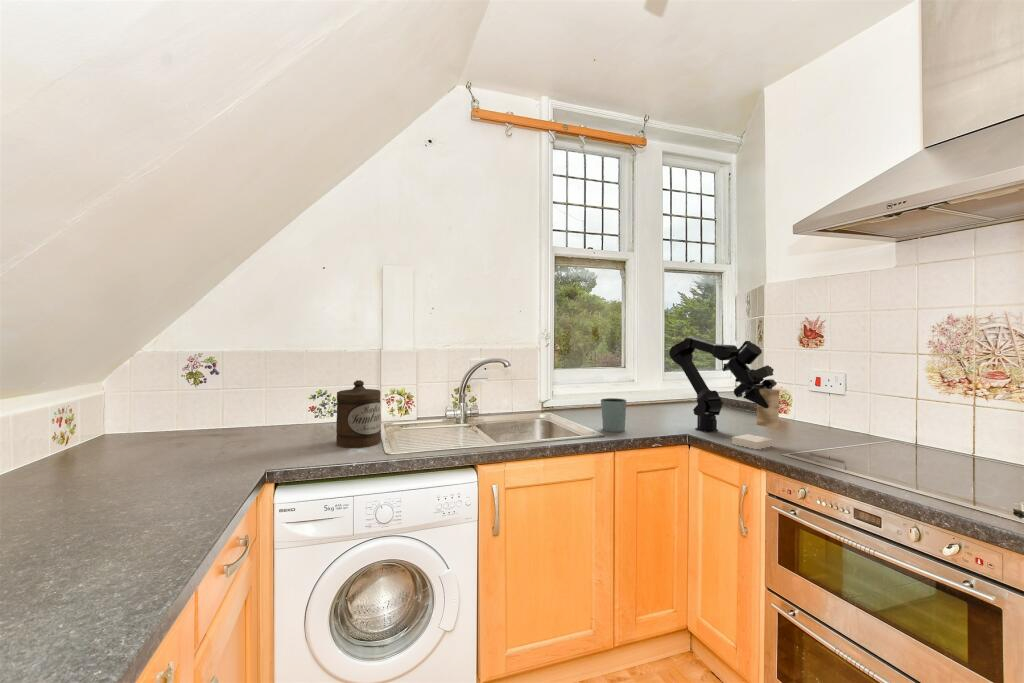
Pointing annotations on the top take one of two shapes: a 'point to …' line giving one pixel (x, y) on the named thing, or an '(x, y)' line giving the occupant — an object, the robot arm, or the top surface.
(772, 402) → the oak block
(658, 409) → the top surface
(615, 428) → the grey green cup
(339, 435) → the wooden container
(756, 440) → the cream base block
